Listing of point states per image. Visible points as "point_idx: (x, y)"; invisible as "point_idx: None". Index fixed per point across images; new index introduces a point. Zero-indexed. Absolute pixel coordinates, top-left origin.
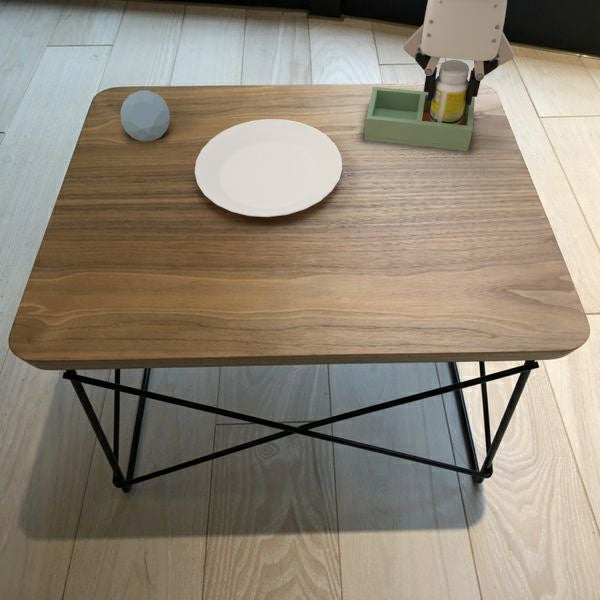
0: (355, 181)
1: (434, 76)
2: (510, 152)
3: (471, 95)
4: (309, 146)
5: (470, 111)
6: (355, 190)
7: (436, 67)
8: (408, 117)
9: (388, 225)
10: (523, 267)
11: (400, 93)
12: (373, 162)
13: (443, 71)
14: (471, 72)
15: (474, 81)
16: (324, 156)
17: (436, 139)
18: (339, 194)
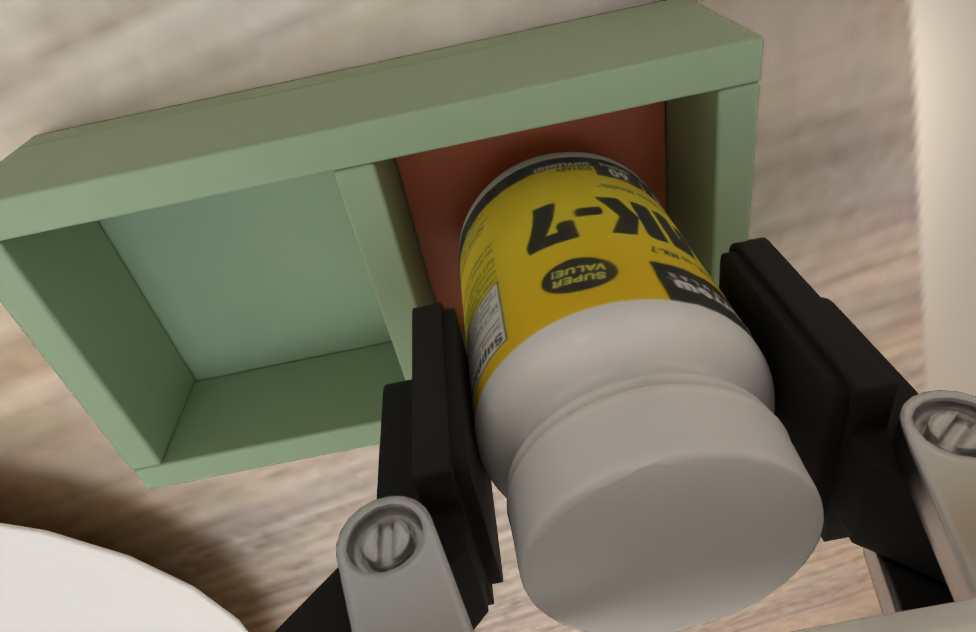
0: (298, 556)
1: (489, 594)
2: (895, 214)
3: None
4: (15, 538)
5: (727, 234)
6: (320, 580)
7: (465, 487)
8: (315, 190)
9: (475, 628)
10: (836, 605)
11: (181, 200)
12: (307, 472)
13: (570, 626)
14: (830, 433)
15: (843, 534)
16: (122, 567)
17: None
18: (282, 605)
